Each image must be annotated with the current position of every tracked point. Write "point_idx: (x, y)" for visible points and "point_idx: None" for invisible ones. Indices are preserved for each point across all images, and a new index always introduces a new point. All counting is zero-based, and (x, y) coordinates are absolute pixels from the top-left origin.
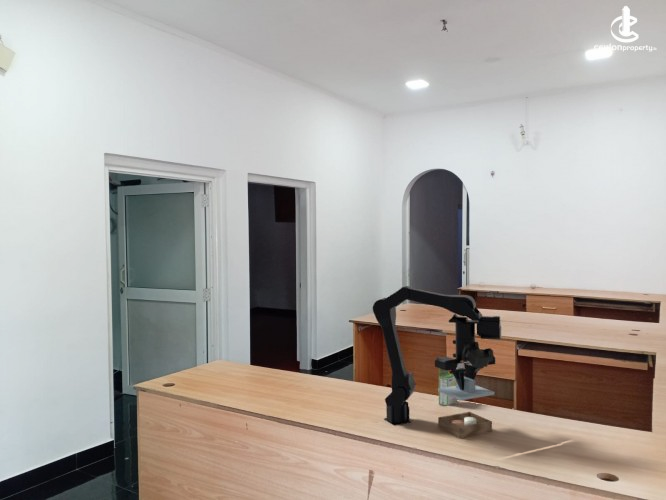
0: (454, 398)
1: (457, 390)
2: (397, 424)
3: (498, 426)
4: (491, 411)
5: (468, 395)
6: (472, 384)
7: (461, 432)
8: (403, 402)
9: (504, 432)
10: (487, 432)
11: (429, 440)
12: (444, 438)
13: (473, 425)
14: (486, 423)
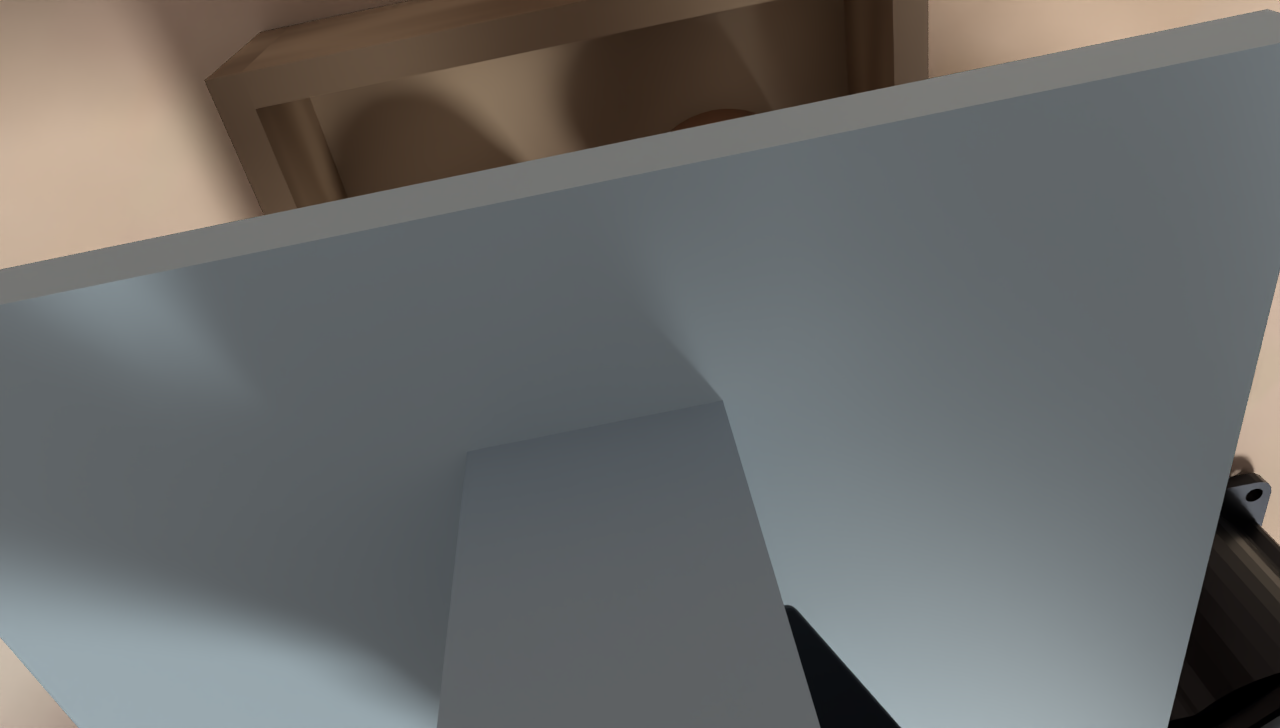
0: None
1: (862, 647)
2: (1233, 487)
3: (70, 248)
4: (20, 661)
5: (889, 198)
6: (597, 639)
7: None
8: (1277, 707)
9: (43, 12)
10: (339, 20)
11: (1227, 15)
12: (1009, 29)
13: None
14: (330, 51)
